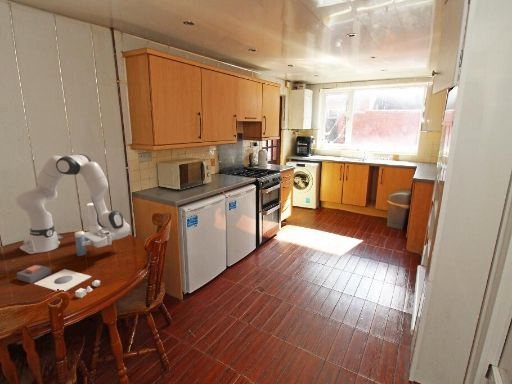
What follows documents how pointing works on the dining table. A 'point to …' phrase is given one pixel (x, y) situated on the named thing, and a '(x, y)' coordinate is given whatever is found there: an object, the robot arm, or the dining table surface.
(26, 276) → the button housing
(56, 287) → the paper sheet
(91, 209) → the cylindrical container
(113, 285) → the dining table surface
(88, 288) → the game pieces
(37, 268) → the button
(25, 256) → the dining table surface
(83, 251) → the blue and white cylinder
